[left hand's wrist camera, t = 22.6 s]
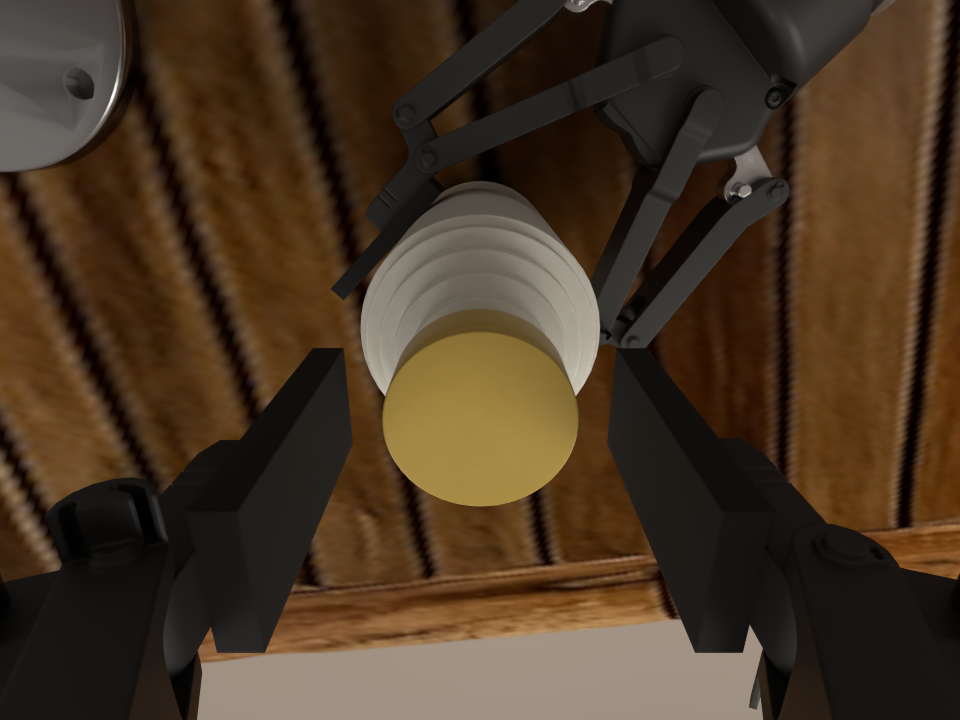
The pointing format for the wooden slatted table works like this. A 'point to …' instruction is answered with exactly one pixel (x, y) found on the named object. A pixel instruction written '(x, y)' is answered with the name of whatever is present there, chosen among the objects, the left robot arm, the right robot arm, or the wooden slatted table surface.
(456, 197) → the bottle
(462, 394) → the cap
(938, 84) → the wooden slatted table surface
